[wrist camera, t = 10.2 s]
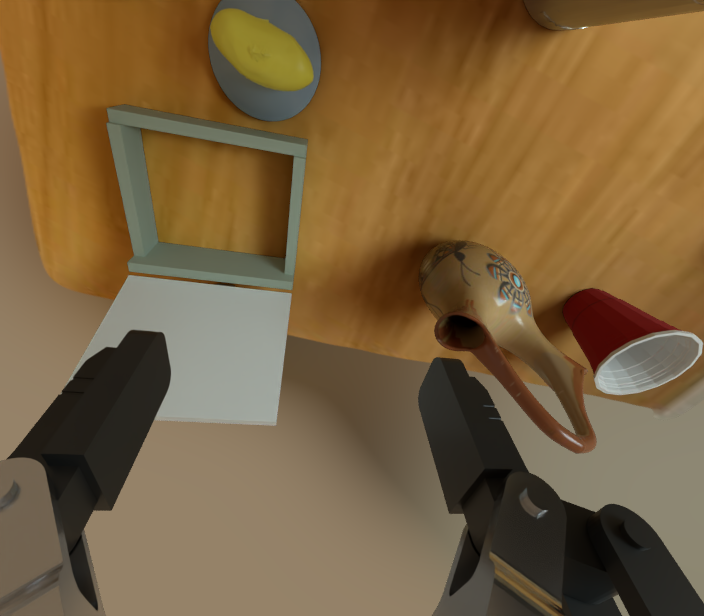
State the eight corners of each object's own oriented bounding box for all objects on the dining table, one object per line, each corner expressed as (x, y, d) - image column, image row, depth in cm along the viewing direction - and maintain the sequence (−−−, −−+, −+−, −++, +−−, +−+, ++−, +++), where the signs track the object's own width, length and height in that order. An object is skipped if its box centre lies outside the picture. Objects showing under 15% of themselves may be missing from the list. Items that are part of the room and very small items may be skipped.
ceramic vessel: (377, 264, 40) (433, 463, 20) (421, 198, 36) (548, 368, 16) (478, 311, 46) (600, 504, 26) (526, 259, 42) (718, 443, 21)
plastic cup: (526, 324, 48) (578, 389, 38) (583, 262, 42) (660, 320, 33) (580, 343, 51) (641, 407, 42) (640, 287, 46) (725, 347, 36)
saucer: (207, -30, 25) (204, -33, 24) (328, 1, 26) (328, 0, 26) (213, 109, 30) (211, 110, 29) (314, 128, 31) (314, 130, 31)
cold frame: (124, 104, 29) (92, 111, 25) (307, 139, 32) (305, 150, 28) (150, 248, 37) (129, 271, 33) (295, 267, 40) (292, 290, 36)
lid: (50, 411, 24) (55, 415, 25) (276, 421, 27) (276, 425, 27) (128, 275, 33) (131, 280, 34) (291, 293, 36) (291, 298, 36)
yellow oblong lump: (225, -9, 25) (211, -20, 22) (322, 56, 28) (322, 55, 24) (210, 53, 27) (195, 51, 24) (301, 108, 30) (299, 113, 26)
